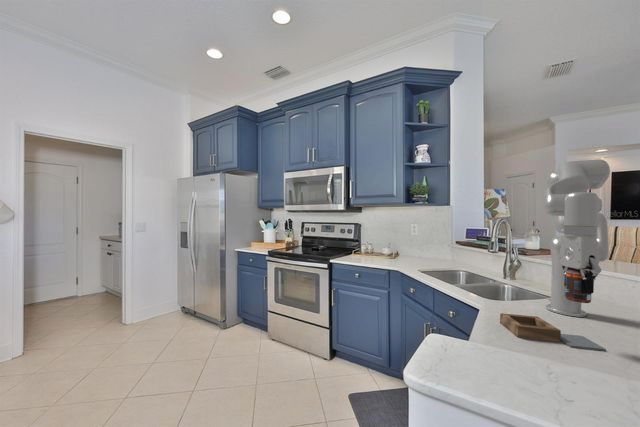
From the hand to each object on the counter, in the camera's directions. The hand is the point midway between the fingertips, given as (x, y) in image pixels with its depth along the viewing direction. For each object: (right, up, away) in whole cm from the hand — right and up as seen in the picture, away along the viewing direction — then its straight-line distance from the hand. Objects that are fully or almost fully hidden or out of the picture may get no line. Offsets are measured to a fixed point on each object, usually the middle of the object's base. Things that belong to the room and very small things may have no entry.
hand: (578, 289), depth 85 cm
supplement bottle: (0, -4, 0) cm, 4 cm away
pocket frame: (-11, -16, +7) cm, 20 cm away
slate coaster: (-1, -16, 0) cm, 16 cm away
